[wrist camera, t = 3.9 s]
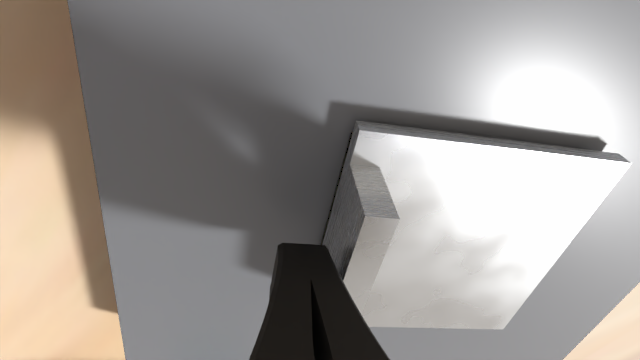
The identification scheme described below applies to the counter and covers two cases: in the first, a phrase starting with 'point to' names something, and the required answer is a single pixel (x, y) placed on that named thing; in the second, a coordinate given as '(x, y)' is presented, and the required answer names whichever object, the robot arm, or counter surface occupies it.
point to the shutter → (456, 222)
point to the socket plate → (337, 148)
